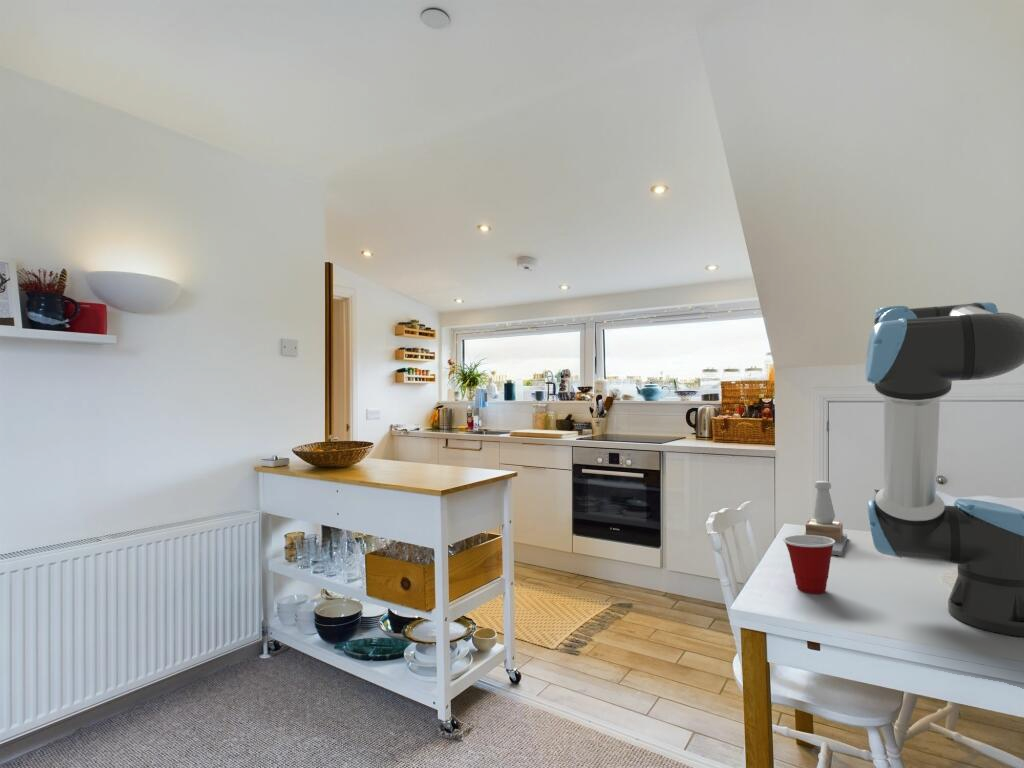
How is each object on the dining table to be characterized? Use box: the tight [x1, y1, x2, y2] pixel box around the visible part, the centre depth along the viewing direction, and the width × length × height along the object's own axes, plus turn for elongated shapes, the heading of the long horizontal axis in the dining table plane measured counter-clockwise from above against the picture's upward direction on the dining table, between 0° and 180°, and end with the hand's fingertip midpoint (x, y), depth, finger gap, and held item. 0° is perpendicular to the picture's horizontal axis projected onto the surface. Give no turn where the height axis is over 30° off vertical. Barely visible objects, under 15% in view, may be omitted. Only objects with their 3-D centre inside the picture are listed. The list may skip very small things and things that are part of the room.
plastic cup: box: [782, 534, 835, 595], centre depth 122 cm, size 11×11×12 cm
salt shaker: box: [812, 480, 836, 525], centre depth 162 cm, size 6×6×13 cm
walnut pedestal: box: [805, 518, 844, 542], centre depth 161 cm, size 9×9×4 cm
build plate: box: [803, 531, 848, 557], centre depth 158 cm, size 22×11×2 cm, turn 144°
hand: (896, 447), depth 136 cm, fingers open, 13 cm apart
